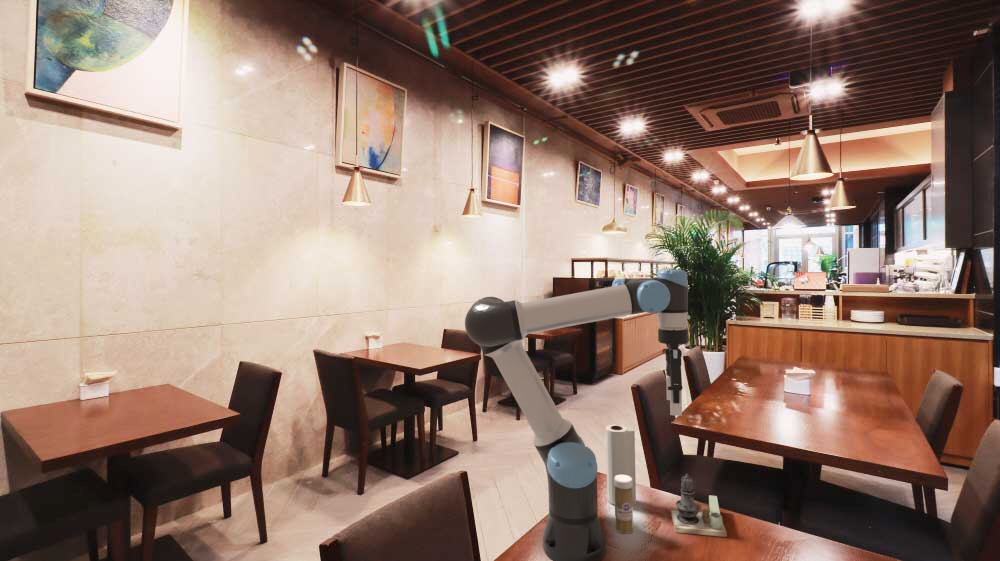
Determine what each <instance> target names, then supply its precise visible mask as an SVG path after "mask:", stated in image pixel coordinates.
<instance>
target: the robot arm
mask: <svg viewBox="0 0 1000 561" xmlns="http://www.w3.org/2000/svg"><path fill="white" fill-rule="evenodd" d="M688 290H689V284H688V274H687V272H686V271H685V270H684V269H668V270H666V269H664V270H658V271H657V274H656V277H649V278H645V277H643V278H642V277H641V278H640V277H638V278H637V277H636V278H627V277H624V278H616V279H614V280H613V281H612V284H611V286H607V287H604V288H596V289H592V290H586V291H581V292H575V293H571V294H563V295H558V296H553V297H547V298H542V299H538V300H537V299H536V300H531V301H528V302H520V301H518V299H514V300H509V301H504V300H502V299H501V298H500V297H496V296H486V297H482V298H481V299H480V298H479V299H478V300H477V301H475V302H473V304H472V305H471V307H470V308H469V309H468V311H467V313H466V315H465V318H464V328H465V332H466V334H467V336H468V337H469V339H470V340H471V341H472V342H474V343H475V344H476V345H478V346H479V347H480V349H481V351H482V352H483V354H484V356H486V357H489V358H491V359H492V360H493V361H494V363H495V364H496V367H497V368H498V370H499V372H500V373H501V376H502V377H503V380H504V381H505V382H506V385H507V386H508V388H509V390H510V392H511V394H512V396H513V397H514V399H515V401H516V403H517V405H518V406H519V408H520V410H521V412H522V413H523V416H524V417H525V420H526V421H527V423H528V424H529V426H530V428H531V430H532V432H533V433H534V437H533V445H534V447H535V448H536V450H537V453H538V454H539V456H540V458H541V459H542V461H543V463H544V465H545V472H546V475H547V484H548V485H547V486H548V516H547V521H546V523H545V527H544V529H543V534H542V549H543V551H544V553H545V555H546V556H547V557H549V559H551V560H552V561H601V559H603V558H604V557H605V555H606V552H607V542H606V541H607V540H606V536H605V534H604V530H603V527H602V525H601V522H600V519H599V513H598V510H599V509H598V507H599V506H598V461H597V458H596V457H597V456H596V454H595V452H594V451H593V450H592V449H591V448H589V447H588V446H586V444H585V442H584V440H583V439H582V437H581V436H579V434H578V433H577V431H576V428H575V427H574V425H573V423H572V421H570V420H568V419H565V418H563V417H562V415H561V413H560V411H559V409H558V408H557V406H556V404H555V401H553V399H552V397H551V395H550V393H549V391H548V389H547V387H546V386H545V384H544V382H543V380H542V379H541V377H540V375H539V373H538V372H537V370H536V367H535V366H534V364H533V362H532V361H531V358H530V356H529V355H528V353H527V352H526V349H525V348H524V346H523V344H522V342H521V341H522V340H524V339H525V338H526V336H527V335H530V334H536V333H541V332H547V331H551V330H557V329H562V328H563V329H564V328H567V327H572V326H577V325H582V324H587V323H588V324H589V323H594V322H599V321H600V322H601V321H604V320H611V319H615V318H621V317H626V316H632V315H638V314H643V313H647V314H648V313H649V314H656V313H657V326H658V327H659V328H658V329H657V339H658V343H660V344H664V345H666V348H664V355H665V361H666V364H665V367H666V368H665V371H666V372H665V373H666V401H669V405H670V406H669V408H670V411H669V412H670V413H669V415H670V416H678V417H683V407H682V406H683V404H682V402H683V400H682V397H683V396H682V395H683V393H682V392H683V391H682V390H683V388H684V387H683V379H682V356H683V354H682V353H683V352H682V349H681V348H680V347H679V346H680V345H686V344H687V343H689V330H688V329H687V328H688V326H689V325H688V324H689V323H688V322H689V321H688V320H690V319H691V316H690V315H688V314H689V312H688V311H689V310H688V308H689V307H688V305H689V304H688V303H689V301H688V300H689V299H688V298H689V296H688V294H689V291H688Z"/></svg>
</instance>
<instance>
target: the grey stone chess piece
mask: <svg viewBox="0 0 1000 561" xmlns="http://www.w3.org/2000/svg"><path fill="white" fill-rule="evenodd" d="M680 482H681V483H680V485H681V486H680V487H681V488H680V489H679V492H680V497H681V498H680V499H679V500H677V501H676V502H675V506H676V508H677V509H676V510H678V512H679V513H680V514H679V515H678V516H677V519H678V520H679V521H680V522H682V523H685V524H697V523H698V522H699V519H698V518H697V517H696V515H697V514H698V512H700V511H699V510H700V509H701V507H700V505H699V504H698V503H697V502H695V497H694V496H695V493H696V491H695V490H694V480H693V478H692V477H690V476H689V474H688V473H686V474H685V475H683V476H682V477H681V478H680Z"/></svg>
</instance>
